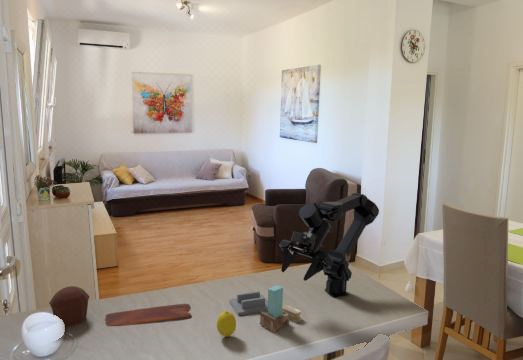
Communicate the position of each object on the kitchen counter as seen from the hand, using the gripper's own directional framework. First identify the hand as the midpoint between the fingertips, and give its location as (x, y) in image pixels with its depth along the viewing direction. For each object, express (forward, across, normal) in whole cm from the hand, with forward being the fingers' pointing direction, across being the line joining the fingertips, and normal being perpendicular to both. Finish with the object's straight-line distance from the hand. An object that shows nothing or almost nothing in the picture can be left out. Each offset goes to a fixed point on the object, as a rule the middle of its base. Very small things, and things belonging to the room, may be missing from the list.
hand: (293, 275), depth 133 cm
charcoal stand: (+13, -14, +6) cm, 20 cm away
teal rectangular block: (+15, 0, +4) cm, 16 cm away
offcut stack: (+10, 0, +9) cm, 14 cm away
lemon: (+26, -5, -7) cm, 28 cm away
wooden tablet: (+34, -32, -13) cm, 48 cm away
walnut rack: (+15, 0, +4) cm, 16 cm away
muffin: (+46, -46, -27) cm, 70 cm away
